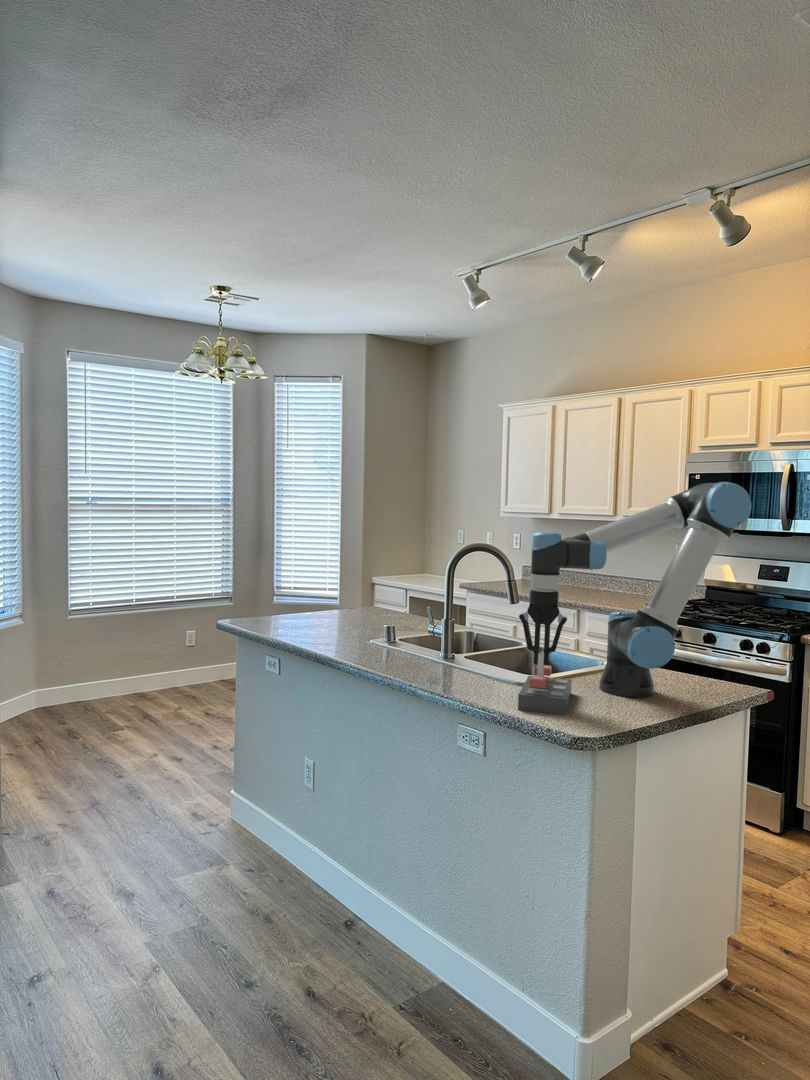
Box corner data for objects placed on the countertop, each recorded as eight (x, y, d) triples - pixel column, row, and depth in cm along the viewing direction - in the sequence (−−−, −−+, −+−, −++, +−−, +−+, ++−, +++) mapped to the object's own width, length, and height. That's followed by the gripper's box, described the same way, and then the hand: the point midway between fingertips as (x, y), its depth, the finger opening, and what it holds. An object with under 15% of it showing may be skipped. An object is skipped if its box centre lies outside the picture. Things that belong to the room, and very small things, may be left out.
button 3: (546, 684, 196) (546, 676, 196) (545, 688, 192) (545, 680, 192) (531, 683, 197) (531, 675, 197) (529, 686, 193) (529, 678, 193)
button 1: (551, 672, 209) (551, 665, 209) (550, 676, 206) (550, 668, 205) (537, 671, 210) (537, 664, 210) (535, 674, 207) (535, 667, 207)
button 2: (548, 684, 203) (549, 676, 203) (547, 687, 199) (547, 679, 199) (534, 682, 204) (534, 675, 204) (532, 686, 200) (532, 678, 200)
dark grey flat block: (571, 690, 213) (572, 676, 213) (565, 714, 189) (565, 698, 189) (529, 686, 216) (530, 672, 216) (517, 709, 192) (518, 693, 192)
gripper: (570, 589, 202) (566, 675, 203) (521, 586, 205) (518, 671, 207) (568, 593, 194) (564, 682, 196) (518, 589, 198) (514, 677, 199)
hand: (540, 676), depth 201 cm, fingers closed
